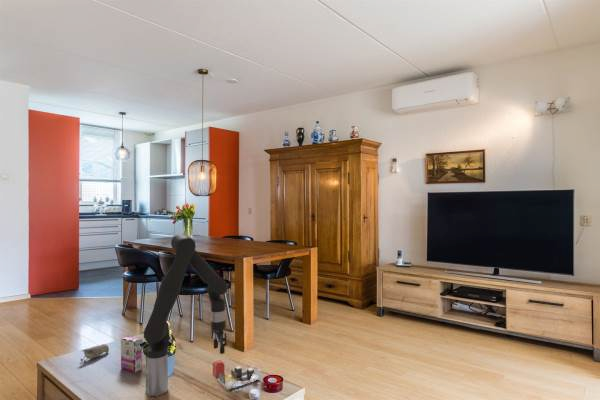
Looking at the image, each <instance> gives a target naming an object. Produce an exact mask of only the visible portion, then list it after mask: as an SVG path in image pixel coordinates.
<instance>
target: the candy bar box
mask: <svg viewBox="0 0 600 400" xmlns="http://www.w3.org/2000/svg"><path fill="white" fill-rule="evenodd" d="M142 339H143V338H140V337H135V336H131V335H126V336H124V337H121V338H120V369H121V370H125V371H127V372H131V373H137V372H140V371H142V370H143V346H142V347H141V346H140V344H142V345H143V340H142Z"/></svg>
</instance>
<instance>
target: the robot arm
mask: <svg viewBox="0 0 600 400" xmlns="http://www.w3.org/2000/svg"><path fill="white" fill-rule="evenodd" d="M170 244H171V245H170V246H171V248H172V250H173V251H174V252H175V255H174V259H173V263H172V264H171V267H170V268H169V269H168V271H167V272H166V273H165V274H164V276H163V277H162V278H161V281H160V285H159V289H158V291H157V295H156V298H155V301H154V305H153V309H152V312H151V315H150V317H149V319H148V321H147V324H146V326H145V328H144V330H143V337H144V339H145V341H146V343H148V346H147V349H146V371H145V393H146V394H147V396H148V397H149V398H150V397H157V396H162V395H164V394H166V393H167V392H168V391H169V384H168V383H169V378H168V377H169V375H168V374H169V372H168V371H169V369H168V368H169V366H168V365H169V363H168V361H169V360H168V353H169V352H168V350H169V346H170V326H169V323H168V322H167V319H168V317H169V315H170V312H171V310H172V309H173V307H174V306H175V304H176V301H177V300H178V297H179V295H180V292H181V288H182V285H183V281H184V278H185V275H186V272H187V269H188V267H189V266H191V268H192V269H193V270H194V272H195V273H196V274H197V276H198V277H199V278H200V279H201V280H202V282H204V284H206V285H207V294H208V297H209V301H210V332H211V337H210V338H211V339H212V342H213V349H215V350H216V349H218V348H219V354H220V355H223V354H225V353H226V352H225V350H226V349H225V347H226V346H227V333H224V330H225V329H226V328H227V318H226V317H227V316H226V315H227V314H226V300H225V299H224V298H223V297H222V296H223V295H225V294H226V293H227V291H228V290H229V288H228V287H229V286H228V283H227V282H226V281H225V279H223V277H221V276H220V275H218V274H217V273H216V272H215V270H214V269H213V267H211V265H210V264H209V263H208V262H207V261H206V260H205V259H204V258H203V257H202V256H201V254H200V253H198V252H197V250H196V242H195V240H194V239H193V238H192V237H190V236H189V235H188V234H186V233H183V232H182V233H177V234H175V235H174V236H173V237H172V238H171V241H170Z"/></svg>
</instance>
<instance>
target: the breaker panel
mask: <svg viewBox="0 0 600 400" xmlns="http://www.w3.org/2000/svg"><path fill="white" fill-rule="evenodd" d="M249 380H250V379H249V378H248V377H247V369H245V370H242V376H239V377H237V373H236V372H235V370H234V369H230V374H227V375H221V374H220V373H219V377H217V382H219V384H221V386H223V388H225V389H226V391H227V392H228V391H231V390H230V389H231V386H232V384H234V383H236V382H238V381H242V382H244V383H248V382H249Z"/></svg>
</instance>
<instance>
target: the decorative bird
mask: <svg viewBox="0 0 600 400" xmlns="http://www.w3.org/2000/svg"><path fill="white" fill-rule="evenodd" d="M109 350H110V348H109V346H108V344H107V343H106V344H105V343H104V344H100V345H95V346H92V347H89V348H85V349H82V350H81V352H83V353H84V356H83V358H80V362H83V363H85V362H86V363H87V360H88V359H89V360H90V359H96V358H99V357H100V356H102V355H103V354H104V353H106V354H108V353H109ZM95 357H96V358H95ZM85 358H86V359H85Z"/></svg>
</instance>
